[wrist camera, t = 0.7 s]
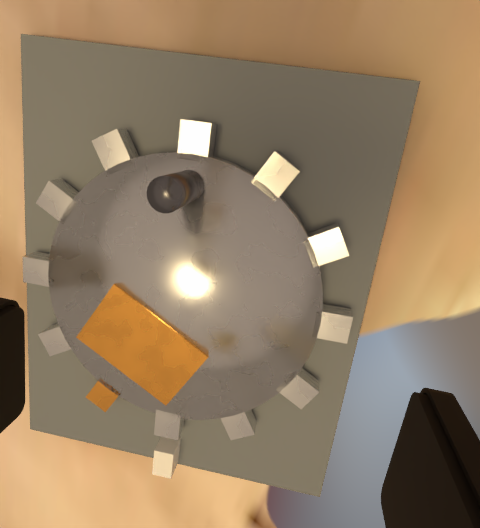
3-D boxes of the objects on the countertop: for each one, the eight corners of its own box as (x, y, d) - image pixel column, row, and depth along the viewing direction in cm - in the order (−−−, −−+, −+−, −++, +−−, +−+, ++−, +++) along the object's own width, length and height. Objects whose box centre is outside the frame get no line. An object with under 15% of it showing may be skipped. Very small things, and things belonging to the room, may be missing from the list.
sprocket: (32, 98, 29) (-43, 87, 23) (388, 147, 26) (412, 149, 20) (37, 395, 36) (-19, 448, 30) (316, 457, 33) (318, 529, 27)
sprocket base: (31, 38, 29) (-1, 26, 26) (415, 83, 26) (429, 76, 23) (38, 420, 39) (15, 444, 36) (319, 485, 36) (320, 517, 33)
